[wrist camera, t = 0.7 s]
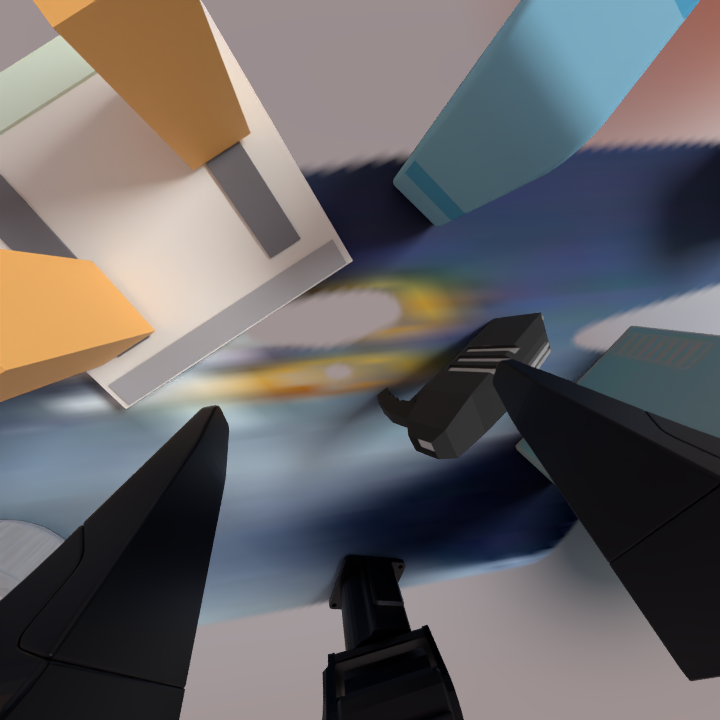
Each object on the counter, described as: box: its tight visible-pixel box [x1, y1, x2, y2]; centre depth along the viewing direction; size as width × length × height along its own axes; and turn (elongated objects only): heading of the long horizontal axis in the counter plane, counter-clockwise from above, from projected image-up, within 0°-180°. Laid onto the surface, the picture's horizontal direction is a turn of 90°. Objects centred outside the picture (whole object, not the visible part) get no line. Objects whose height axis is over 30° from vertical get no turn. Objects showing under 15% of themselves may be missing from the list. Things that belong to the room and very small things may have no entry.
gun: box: [378, 313, 551, 459], centre depth 21 cm, size 3×16×10 cm, turn 118°
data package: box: [393, 0, 700, 227], centre depth 14 cm, size 12×4×12 cm, turn 143°
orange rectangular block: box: [0, 249, 155, 402], centre depth 12 cm, size 5×4×9 cm
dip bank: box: [0, 0, 353, 409], centre depth 17 cm, size 17×19×1 cm
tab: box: [33, 0, 251, 170], centre depth 11 cm, size 5×4×9 cm
